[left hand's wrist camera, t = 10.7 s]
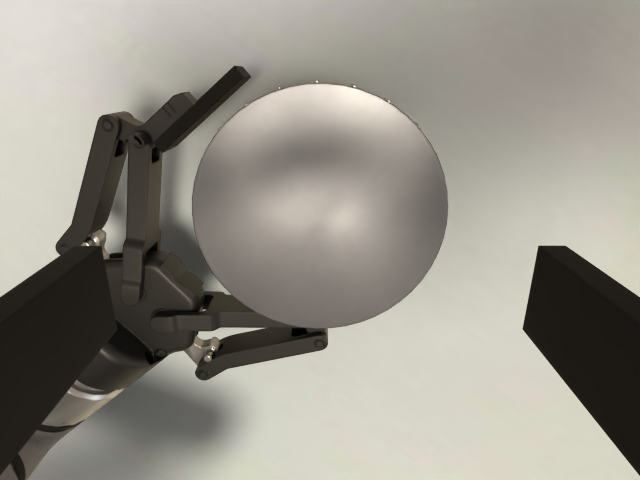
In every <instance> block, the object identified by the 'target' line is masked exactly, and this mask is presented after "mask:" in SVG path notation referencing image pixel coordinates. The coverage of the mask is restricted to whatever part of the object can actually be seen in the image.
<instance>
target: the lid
mask: <svg viewBox="0 0 640 480" xmlns="http://www.w3.org/2000/svg"><path fill="white" fill-rule="evenodd" d="M278 89H279V90H276V91H273V92H270V93H268V94H266V95H264V96H262V97H260V98H258V99H256V100H254V101H252V102H251V101H250V102H248V103H246V104H244V105H245V107H243V108H242V109H240V110H239V111H238V112H237V113H236V114H234V115H233V116H232V117H231V118H230V119H229V120H228V121H227V122H226V123H225V124H224V125H223V126H222V127H220V128H219V129H218V130H219V131H218V132H217V133H216V135H215V136H214V138H213V139H212V141H211V142H210V144H209V146H208V147H207V149H206V150H205V153H204V155H203V157H202V158H201V162H200V164H199V167H198V170H197V174H196V177H195V181H194V188H193V195H192V216H193V224H194V230H195V234H196V237H197V241H198V245H199V247H200V249H201V252H202V254H203V256H204V259H205V261H206V262H207V264H208V266H209V267H210V269H211V271H212V272H213V274H214V275H215V276H216V278H217V279H218V280H219V282H220V283H221V284H222V285H223V286H224V287H225V288H226V289H227V290H228V291H229V292H230V293H231V294H232V295H233V296H234V297H235V298H236V299H238V300H239V301H240V302H241V303H243V304H244V305H245V306H247V307H249V308H250V309H252V310H254V311H255V312H257V313H259V314H261V315H263V316H265V317H267V318H270V319H272V320H275V321H278V322H281V323H284V324H288V325H293V326H298V327H305V328H335V327H342V326H348V325H352V324H355V323H359V322H362V321H365V320H368V319H370V318H373V317H375V316H377V315H379V314H381V313H383V312H385V311H387V310H388V309H390V308H391V307H393V306H394V305H396V304H397V303H399V302H400V301H401V300H402V299H404V298H405V297H406V296H407V295H408V294H409V293H410V292H412V291H413V289H414V288H415V287H416V286H417V285H418V284H419V283H420V282H421V280H422V279H423V278H424V276H425V275H426V273H427V272H428V271H429V269H430V268H431V266H432V264H433V262H434V260H435V258H436V256H437V254H438V252H439V249H440V247H441V244H442V241H443V238H444V234H445V229H446V224H447V215H448V196H447V187H446V182H445V177H444V173H443V170H442V167H441V165H440V162H439V159H438V157H437V153H435V151H434V149H433V147H432V145H431V143H430V142H429V141H428V139H427V138H426V136H425V135H424V134H423V132H422V131H421V129H420V128H419V127H418V124H417V123H415V122H413V121H412V120H411V119H410V118H409V117H408V116H407V115H406V114H404V113H403V112H402V111H401V110H399V109H398V108H397V107H395V106H394V105H393V104H391V103H390V100H388V99H385V98H384V99H382V98H380V97H379V96H376V95H374V94H372V93H369V92H367V91H364V90H362V89H359V88H356V85H353V84H351V86H347V85H343V84H336V83H327V82H318V80H316V83H303V84H298V85H292V86H288V87H285V88H283V86H281V87H278Z"/></svg>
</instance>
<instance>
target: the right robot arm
mask: <svg viewBox="0 0 640 480" xmlns="http://www.w3.org/2000/svg"><path fill="white" fill-rule="evenodd" d="M249 78H251V76H250V75H249V74H248V73H247V71H246V70H245V69H244V68H243V67H240V66H234V67H233V68H232V69H231V70H230V71H228V72H227V73H226V74H225V75H224V76H223V77H222V78H221V79H220V80H219V81H218V82H217V83H216V84H215V85H214V86H213V87H212V88H210V89H209V90H208V91H207V92H206V93H205V94H204V95H203V96H202V97H201V98H200V99H199V100H198V101H197V100H196V99H195V98H194V97H193V96H192V95H191V93H190V92H184V93H180V94H177V95H174V96H173V97H172V98H171V99H170V100H169V101H168V102H167V103H166V104H164V105H163V106H162V108H160V109H159V110H158V111H157V112H156V113H155V114H154V115H153V116H152V117H151V118H150V119H149V120H148V121H147V122H146V123H143V122H140V121H138V120H137V119H135V118H134V117H133V116H132V115H131V114H130V113H128V112H125V111H124V112H117V113H112V114H107V115H102V116H101V117H100V118H99V120H98V122H97V126H96V130H95V134H94V138H93V142H92V146H91V150H90V154H89V157H88V161H87V165H86V169H85V173H84V177H83V181H82V185H81V189H80V193H79V197H78V201H77V205H76V209H75V213H74V216H73V220H72V224H71V226H70V227H69V228H68V230H67V231H66V232H65V233H64V235H63V236H62V237H61V238H60V240H59V241H58V242H57V244H56V250H57V252H58V253H59V254H60V255H62V254H63V253H65V252H66V251H68V250H69V249H71V248H72V247H74V246H102V252H103V257H104V262H105V267H106V273H107V278H108V283H109V288H110V294H111V299H112V304H113V309H114V315H115V320H116V325H117V330H116V331H115V333H114V334H113V335H112V336H111V338H110V339H109V340H108V341H107V343H106V344H105V345H104V346H103V348H102V349H101V350H100V351H99V353H98V354H97V355H96V356H95V358H94V359H93V360H92V361H91V363H90V364H89V365H88V366H87V368H86V369H85V370H84V371H83V373H82V374H81V375H80V376H79V378H78V379H77V380H76V382H75V383H74V384H73V385H72V387H71V388H70V389H69V390H68V392H67V393H66V394H65V395H64V397H63V398H62V399H61V400H60V402H59V403H58V404H57V405H56V407H55V408H54V409H53V410H52V412H51V413H50V414H49V415H48V417H47V418H46V419H45V420H44V422H43V423H42V424H41V425H40V427H39V428H38V429H37V430H36V432H35V433H34V434H33V435H32V437H31V438H30V439H29V440H28V442H27V443H26V444H25V445H24V447H23V448H22V449H21V450H20V452H19V453H18V454H17V455H16V457H15V458H14V459H13V460H12V462H11V463H10V464H9V465H8V467H7V468H6V469H5V470H4V472H3V473H2V474H1V475H0V480H27V479H28V477H29V476H30V475H31V473H32V472H33V470H34V469H35V468H36V466H37V465H38V464H39V462H40V461H41V459H42V458H43V457H44V455H45V454H46V453H47V452H48V451H49V449H50V448H51V447H52V446H53V445H54V444H55V443H56V442H57V441H59V440H60V439H61V438H62V437H64V436H65V435H66V434H67V433H68V432H70V431H71V430H72V429H74V428H75V427H76V426H77V425H78V424H80V423H81V422H83V421H84V420H85V419H86V418H88V417H89V416H90V415H92V414H93V413H94V412H96V411H97V410H98V409H100V408H101V407H102V406H104V405H105V404H106V403H108V402H109V401H110V400H112V399H113V398H114V397H116V396H117V395H118V394H119V393H121V392H122V391H123V390H124V389H125V388H126V387H128V386H129V385H131V384H132V383H133V382H135V381H136V380H137V379H139V378H140V377H141V376H142V375H144V374H145V373H146V372H148V371H149V370H150V369H151V368H153V367H154V366H155V365H157V364H158V363H159V362H160V361H162V360H163V359H164V358H165V357H167V356H168V355H169V354H171V353H174V352H178V351H185V352H186V353H187V354H188V356H189V357H190V358H191V359H192V360H193V361H194V362H195V363H196V364H197V369H196V371H195V375H196V376H197V378H199V379H200V380H208V379H210V378H212V377H214V376H215V375H217V374H219V373H221V372H222V371H224V370H226V369H228V368H234V367H239V366H244V365H249V364H254V363H259V362H264V361H269V360H274V359H279V358H284V357H289V356H295V355H300V354H305V353H310V352H315V351H320V350H323V349H325V348H326V347H327V345H328V329H327V328H305V327H298V326H293V325H288V324H284V323H281V322H278V321H275V320H272V319H270V318H267V317H265V316H263V315H261V314H259V313H257V312H255V311H254V310H252V309H250V308H249V307H247V306H245V305H244V304H243V303H241V302H240V301H239V300H238V299H236V298H235V297H234V296H233V295H226V294H224V293H223V292H204V289H203V287H202V285H203V282H202V281H201V280H200V279H199V278H198V277H197V276H195V275H194V274H192V273H190V272H189V271H187V270H186V269H185V268H184V266H183V265H182V263H181V261H180V260H179V259H178V258H177V257H176V256H175V255H174V254H173V253H172V252H171V253H170V254H168V253H166V252H163V251H160V239H161V231H160V229H159V212H160V192H161V172H162V153H163V152H165V151H167V150H169V149H171V148H173V147H176V146H177V145H178V144H179V143H180V142H181V141H183V140H184V139H185V138H186V137H187V136H188V135H189V134H190V133H191V132H192V131H193V130H194V129H196V128H197V127H198V126H199V125H200V124H201V123H202V122H203V121H204V120H205V119H206V118H207V117H208V116H210V115H211V114H212V113H213V112H214V111H215V110H216V109H217V108H218V107H219V106H220V105H221V104H223V103H224V102H225V101H226V100H227V99H228V98H229V97H230V96H231V95H232V94H233V93H234V92H235V91H237V90H238V89H239V88H240V87H241V86H242V85H243V84H244V83H245V82H246V81H247V80H248V79H249ZM127 151H128V186H127V230H126V240H125V242H124V245H123V252H120V253H112V254H108V253H107V252H106V250H105V248H104V244H105V241H106V232H105V231H104V230H102V228H103V227H104V225H105V224H106V222H107V220H108V217H109V214H110V211H111V207H112V204H113V200H114V197H115V193H116V190H117V186H118V183H119V179H120V176H121V172H122V169H123V165H124V162H125V158H126V155H127ZM203 309H207V310H206V311H203ZM202 311H203V312H202ZM220 327H248V328H265V329H260V330H255V331H250V332H245V333H240V334H235V335H231V336H228V337H225V338H223V339H221V340H219V339H218V338H217V337H213V338H212V339H208V340H202V339H200V338H198V337H197V335H198V332H199V331H214V330H216V329H218V328H220Z"/></svg>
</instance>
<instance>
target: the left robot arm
mask: <svg viewBox="0 0 640 480" xmlns="http://www.w3.org/2000/svg"><path fill="white" fill-rule="evenodd" d="M116 330H117V325H116V320H115V315H114V309H113V304H112V299H111V294H110V288H109V283H108V278H107V273H106V267H105V262H104V257H103V252H102V246H74V247H72V248H71V249H69V250H68V251H66V252H65V253H63V254H62V255H61V256H59V257H58V258H56V259H55V260H53V261H52V262H51V263H49V264H48V265H46V266H45V267H43V268H42V269H40V270H39V271H38V272H36V273H35V274H33V275H32V276H30V277H29V278H27V279H26V280H25V281H23V282H22V283H20V284H19V285H17V286H16V287H14V288H13V289H12V290H10V291H9V292H7V293H6V294H4V295H3V296H1V297H0V475H1V474H2V473H3V472H4V470H5V469H6V468H7V467H8V465H9V464H10V463H11V462H12V460H13V459H14V458H15V457H16V455H17V454H18V453H19V452H20V450H21V449H22V448H23V447H24V445H25V444H26V443H27V442H28V440H29V439H30V438H31V437H32V435H33V434H34V433H35V432H36V430H37V429H38V428H39V427H40V425H41V424H42V423H43V422H44V420H45V419H46V418H47V417H48V415H49V414H50V413H51V412H52V410H53V409H54V408H55V407H56V405H57V404H58V403H59V402H60V400H61V399H62V398H63V397H64V395H65V394H66V393H67V392H68V390H69V389H70V388H71V387H72V385H73V384H74V383H75V382H76V380H77V379H78V378H79V376H80V375H81V374H82V373H83V371H84V370H85V369H86V368H87V366H88V365H89V364H90V363H91V361H92V360H93V359H94V358H95V356H96V355H97V354H98V353H99V351H100V350H101V349H102V348H103V346H104V345H105V344H106V343H107V341H108V340H109V339H110V338H111V336H112V335H113V334H114V333H115V331H116ZM523 330H524V331H525V333H526V334H527V335H528V336H529V338H530V339H531V340H532V341H533V343H534V344H535V345H536V346H537V348H538V349H539V350H540V351H541V353H542V354H543V355H544V356H545V358H546V359H547V360H548V361H549V363H550V364H551V365H552V366H553V368H554V369H555V370H556V371H557V373H558V374H559V375H560V377H561V378H562V379H563V380H564V382H565V383H566V384H567V385H568V387H569V388H570V389H571V390H572V392H573V393H574V394H575V395H576V397H577V398H578V399H579V400H580V402H581V403H582V404H583V405H584V407H585V408H586V409H587V410H588V412H589V413H590V414H591V415H592V417H593V418H594V419H595V420H596V422H597V423H598V424H599V425H600V427H601V428H602V429H603V430H604V432H605V433H606V434H607V435H608V437H609V438H610V439H611V440H612V442H613V443H614V444H615V445H616V447H617V448H618V449H619V450H620V452H621V453H622V454H623V455H624V457H625V458H626V459H627V460H628V462H629V463H630V464H631V465H632V467H633V468H634V469H635V470H636V472H637V473H638V474H639V475H640V297H639V296H637V295H636V294H634V293H633V292H631V291H630V290H628V289H627V288H626V287H624V286H623V285H621V284H620V283H618V282H617V281H615V280H614V279H613V278H611V277H610V276H608V275H607V274H605V273H604V272H602V271H601V270H600V269H598V268H597V267H595V266H594V265H592V264H591V263H589V262H588V261H587V260H585V259H584V258H582V257H581V256H579V255H578V254H577V253H575V252H574V251H572V250H571V249H569V248H568V247H566V246H538V252H537V257H536V262H535V267H534V273H533V278H532V283H531V288H530V294H529V299H528V304H527V309H526V315H525V320H524V325H523Z"/></svg>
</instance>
